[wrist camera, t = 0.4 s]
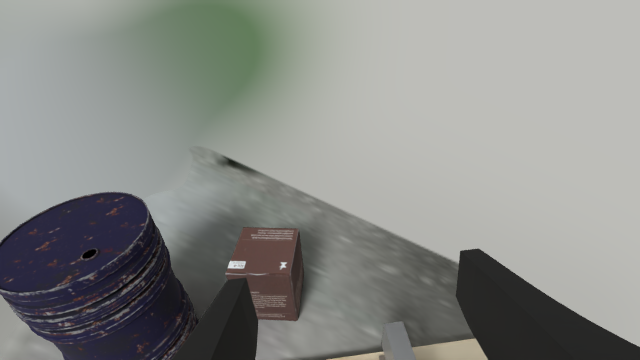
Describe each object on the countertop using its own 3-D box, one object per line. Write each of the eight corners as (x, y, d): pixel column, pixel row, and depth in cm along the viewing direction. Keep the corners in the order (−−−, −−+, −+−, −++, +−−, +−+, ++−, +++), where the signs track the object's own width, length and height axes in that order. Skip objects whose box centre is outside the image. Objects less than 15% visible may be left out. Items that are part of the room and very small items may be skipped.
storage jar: (73, 353, 31) (-31, 241, 23) (169, 286, 37) (117, 176, 29) (116, 435, 26) (2, 329, 17) (221, 341, 32) (176, 226, 23)
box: (305, 274, 38) (300, 227, 34) (298, 323, 33) (291, 275, 29) (253, 272, 38) (242, 225, 34) (238, 319, 33) (223, 272, 29)
